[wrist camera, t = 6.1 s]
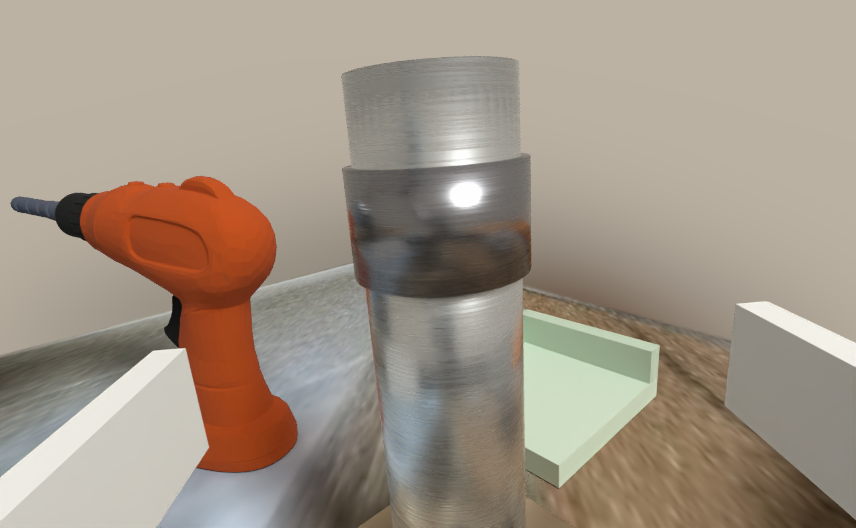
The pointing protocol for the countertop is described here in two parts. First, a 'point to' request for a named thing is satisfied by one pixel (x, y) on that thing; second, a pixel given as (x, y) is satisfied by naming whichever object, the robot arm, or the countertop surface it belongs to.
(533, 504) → the socket
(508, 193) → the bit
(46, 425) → the countertop surface
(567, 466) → the pale green flat tray
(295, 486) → the countertop surface
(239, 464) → the toy drill
